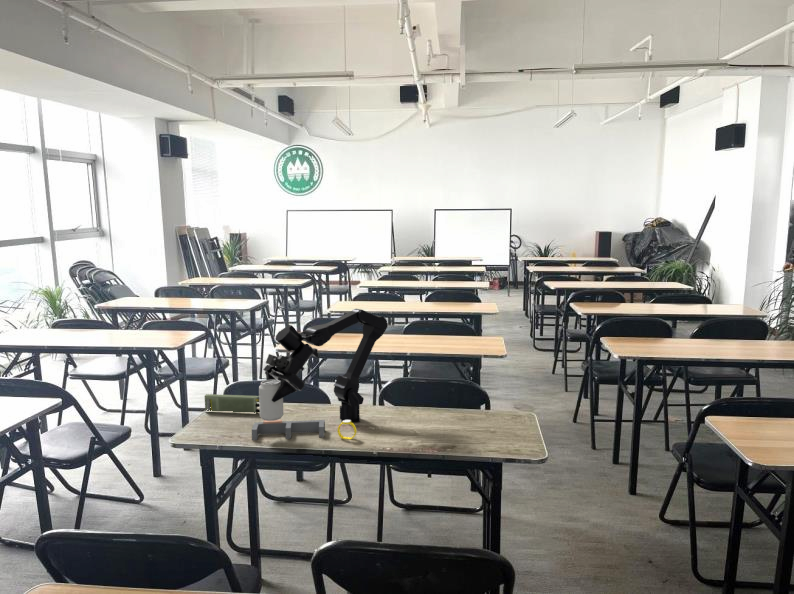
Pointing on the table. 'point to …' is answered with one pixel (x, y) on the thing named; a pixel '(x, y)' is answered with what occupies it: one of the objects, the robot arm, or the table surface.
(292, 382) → the robot arm
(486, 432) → the table surface
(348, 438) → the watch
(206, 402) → the handheld radio
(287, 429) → the comb rack
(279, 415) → the can
